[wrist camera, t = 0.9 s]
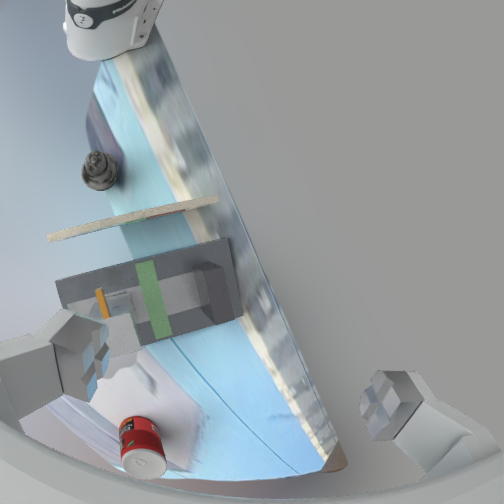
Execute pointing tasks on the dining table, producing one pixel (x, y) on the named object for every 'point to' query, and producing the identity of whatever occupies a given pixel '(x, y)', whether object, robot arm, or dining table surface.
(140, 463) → the canned food
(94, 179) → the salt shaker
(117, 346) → the brushed steel slab
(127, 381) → the dining table surface
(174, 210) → the base
